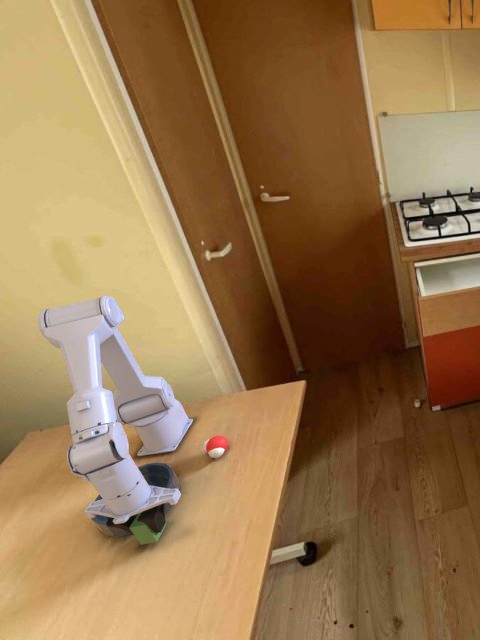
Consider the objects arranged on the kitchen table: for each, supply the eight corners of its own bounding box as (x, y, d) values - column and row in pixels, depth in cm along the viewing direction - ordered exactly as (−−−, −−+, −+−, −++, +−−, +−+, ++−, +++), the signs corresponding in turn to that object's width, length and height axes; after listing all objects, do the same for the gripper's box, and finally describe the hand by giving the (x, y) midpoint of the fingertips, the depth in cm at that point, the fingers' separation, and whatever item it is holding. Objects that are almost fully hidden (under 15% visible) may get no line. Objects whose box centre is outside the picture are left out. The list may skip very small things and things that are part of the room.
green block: (151, 526, 84) (140, 509, 81) (167, 523, 84) (156, 506, 82) (140, 544, 81) (128, 527, 78) (157, 542, 81) (145, 525, 79)
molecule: (233, 443, 102) (228, 431, 100) (222, 461, 97) (216, 448, 95) (212, 444, 101) (206, 432, 99) (200, 462, 97) (193, 449, 95)
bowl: (126, 481, 93) (117, 468, 91) (192, 471, 95) (185, 458, 93) (84, 544, 81) (72, 530, 79) (160, 531, 83) (151, 517, 81)
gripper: (58, 513, 71) (95, 558, 77) (153, 498, 73) (182, 543, 80) (88, 476, 77) (119, 520, 84) (175, 463, 80) (199, 507, 86)
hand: (151, 529), depth 82 cm, fingers closed on green block, 3 cm apart
